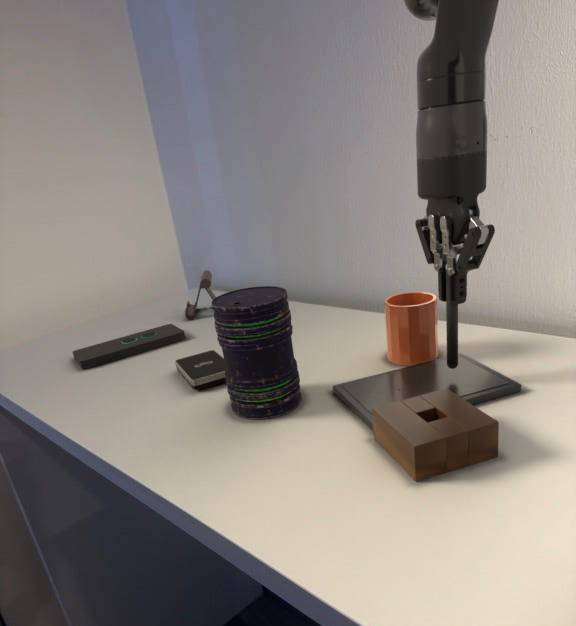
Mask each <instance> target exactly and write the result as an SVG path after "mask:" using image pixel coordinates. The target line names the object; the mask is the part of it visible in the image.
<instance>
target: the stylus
mask: <svg viewBox="0 0 576 626" xmlns="http://www.w3.org/2000/svg"><path fill="white" fill-rule="evenodd" d="M447 275H449V274H448V272H447V265H446V302H445V306H446V307H445V310H446V311H445V315H446V316H445V317H446V318H445V319H446V321H445V322H446V323H445V325H446V357H447V366H448V367H449V368H451V369H454V368H456V367H457V366H458V354H459V304H457V305H451V304H449V303H448V302H447Z"/></svg>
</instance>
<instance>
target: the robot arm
mask: <svg viewBox="0 0 576 626" xmlns="http://www.w3.org/2000/svg"><path fill="white" fill-rule="evenodd" d="M403 2H404V5H405V7H406V9H407V10H408V12H409V13H410V14H411V15H412V16H413V17H414V18H416V19H418V20H421V21H425V22H433V21H435V25H434V33H433V37H432V39H431V41H430V43H429V44H428V45H427V46H426V47H425V48H424V49H423V50H422V52H421V53H420V54H419V56H418V58H417V62H416V96H417V97H416V98H417V99H416V100H417V101H416V102H417V118H416V129H415V148H416V149H415V151H416V178H417V179H416V182H417V196H418V197H419V198H420V199H421V200H425V201H427V205H426V207H425V208H426V209H425V214H426V215H425V216H424V217H423V218H418V219H416V220H415V224H414V225H415V229H416V232H417V235H418V238H419V241H420V244H421V247H422V250H423V254H424V257H425V260H426V263H427V264H428V265H433V268H434V270H435V271H436V272H437V283H438V284H437V288H438V289H437V291H438V300H439V301H440V302H443V303H446V265H447V272H448V274H449V275H447V302H448V303H449V304H451V305H457V304H458V305H462V304H465V303H466V301H467V297H468V288H467V287H468V273H469V272H470V271H473V270H479V269H480V268H481V267H480V266H481V264H482V262H483V261H484V257H485V256H486V253H487V251H488V248H489V246H490V244H491V242H492V240H493V237H494V235H495V232H496V229H495V225H493V224H484V222H482V220H481V219H480V216H481V210H480V207H479V203H478V197H479V195H480V194H482V193H484V192H485V191H486V189H487V167H488V115H487V107H486V106H487V105H486V94H487V93H486V91H487V90H486V89H487V87H486V84H487V83H486V82H487V72H486V71H487V64H486V63H487V61H486V60H487V59H486V58H487V52H488V50H489V49H488V48H489V44H490V41H491V37H492V34H493V30H494V25H495V20H496V16H497V12H498V8H499V3H500V0H403Z"/></svg>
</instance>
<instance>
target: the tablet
mask: <svg viewBox="0 0 576 626" xmlns="http://www.w3.org/2000/svg"><path fill="white" fill-rule="evenodd" d="M445 388H447V389H448V390H450V391H451V392H453V393H454V394H456V395H458V396H459V397H461V398H462V399H464V400H465V401H467V402H468V403H470V404H471V405H473V406H475V405H478V404H481V403H485V402H488V401H492V400H497V399H499V398H502V397H503V398H504V397H506V396H509V395H513V394H517V393H520V392H522V383H519V382H517V381H516V380H514V379H512V378H510V377H508V376H506V375H504V374H502V373H500V372H498V371H496V370H495V369H492V368H490V367H488V366H486V365H485V364H483V363H481V362H479V361H478V360H475V359H473V358H471V357H469V356H467V355H466V354H463V353H461V352H458V366H457V367H456V368H454V369H451V368H449V367H448V366H447V356H443V357H440V358H436V359H435V360H431V361H427V362H423V363H420V364H416V365H412V366H403V367H400V368H397V369H392V370H388V371H385V372H381V373H377V374H373V375H370V376H366V377H361V378H357V379H354V380H350V381H346V382H342V383H338V384H335V385H332V392H333V393H334V394H335V396H337V397H338V398H339V400H341V402H342V403H344V404H345V406H347V407H348V408H349V409H350V410H351V411H352V412H353V413H354V414H355V415H356V416H357V417H358V418H359V419H360V421H362V422H363V423H364V424H365V425H366V426H367V427H368V428H369V429H370V430H371V431H372V432H373V433H374V431H373V419H372V408H375V407H379V406H383V405H386V404H390V403H394V402H397V401H401V400H405V399H409V398H412V397H416V396H420V395H423V394H427V393H431V392H434V391H438V390H442V389H445Z"/></svg>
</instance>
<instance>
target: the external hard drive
mask: <svg viewBox="0 0 576 626" xmlns="http://www.w3.org/2000/svg"><path fill="white" fill-rule="evenodd" d="M174 365H175V368H176V371H178V373H179V374H180V375H181V376H182V377H183V379H184V380H185V381H186V382H187V384H188V385H190V387H191V388H192V389H193V390H194V391H199V390H202V389H206V388H209V387H212V386H216V385H219V384H222V383H227V382H226V377H225V370H226V367H225V362H224V357H223V355H221V354H220V353H219V352H217V351H216V350H215V349H211V350H207V351H204V352H200V353H195V354H192V355H189V356H185V357H181V358H177V359H175V360H174Z"/></svg>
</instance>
